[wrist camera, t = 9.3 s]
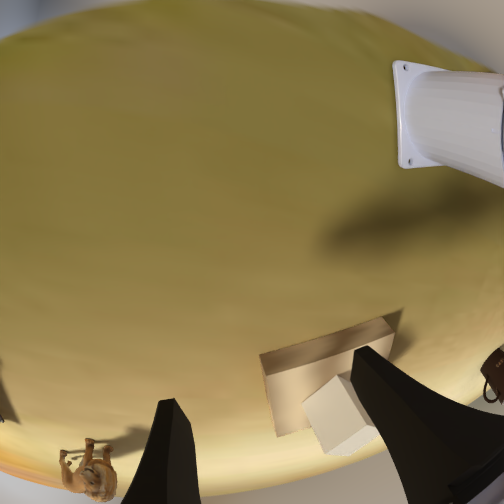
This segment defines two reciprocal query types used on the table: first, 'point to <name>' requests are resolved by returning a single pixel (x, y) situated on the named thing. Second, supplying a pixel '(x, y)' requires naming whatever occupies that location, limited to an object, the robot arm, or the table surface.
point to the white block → (339, 418)
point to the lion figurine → (91, 474)
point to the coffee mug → (494, 375)
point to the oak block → (315, 369)
